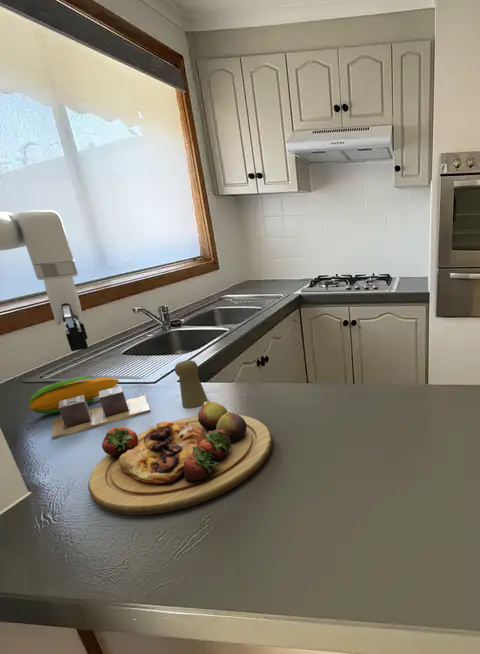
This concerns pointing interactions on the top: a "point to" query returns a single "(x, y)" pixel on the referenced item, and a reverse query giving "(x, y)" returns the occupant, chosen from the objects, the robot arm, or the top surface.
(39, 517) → the top surface
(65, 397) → the corn
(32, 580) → the top surface
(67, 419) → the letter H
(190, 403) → the pepper mill
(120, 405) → the brown cube
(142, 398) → the word board
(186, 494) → the wooden plate
